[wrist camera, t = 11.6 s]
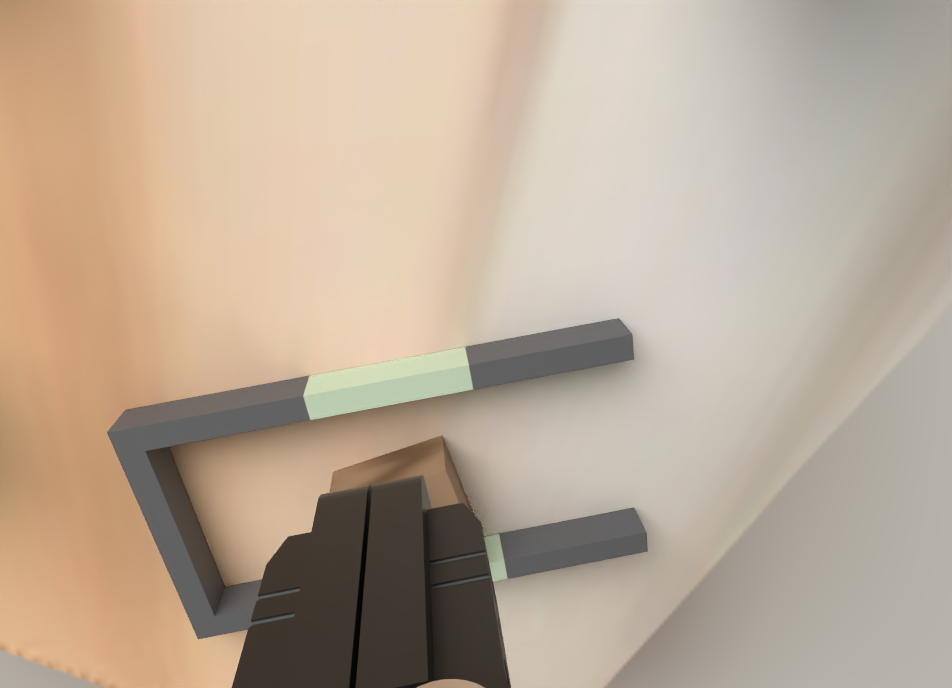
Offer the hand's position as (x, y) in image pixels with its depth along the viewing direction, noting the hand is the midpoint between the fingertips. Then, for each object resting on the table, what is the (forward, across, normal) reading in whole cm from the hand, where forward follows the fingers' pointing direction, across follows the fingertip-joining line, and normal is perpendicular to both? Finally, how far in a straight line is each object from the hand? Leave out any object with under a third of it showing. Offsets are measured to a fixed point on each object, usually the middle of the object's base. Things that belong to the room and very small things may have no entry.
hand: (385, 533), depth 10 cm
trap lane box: (+27, +3, +16) cm, 32 cm away
